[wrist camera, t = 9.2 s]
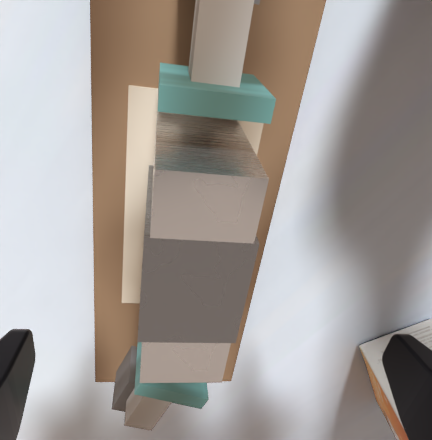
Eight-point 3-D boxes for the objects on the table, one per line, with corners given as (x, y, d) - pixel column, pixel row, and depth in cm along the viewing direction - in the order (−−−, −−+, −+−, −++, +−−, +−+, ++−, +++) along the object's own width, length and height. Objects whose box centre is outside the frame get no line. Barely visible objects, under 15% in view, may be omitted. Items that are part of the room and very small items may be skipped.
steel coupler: (211, 291, 23) (226, 382, 18) (140, 289, 22) (134, 382, 17) (242, 121, 18) (274, 179, 13) (152, 111, 17) (148, 168, 12)
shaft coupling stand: (335, -85, 15) (429, -118, 10) (228, 366, 28) (243, 456, 23) (93, -136, 14) (49, -207, 8) (97, 366, 27) (82, 463, 21)
